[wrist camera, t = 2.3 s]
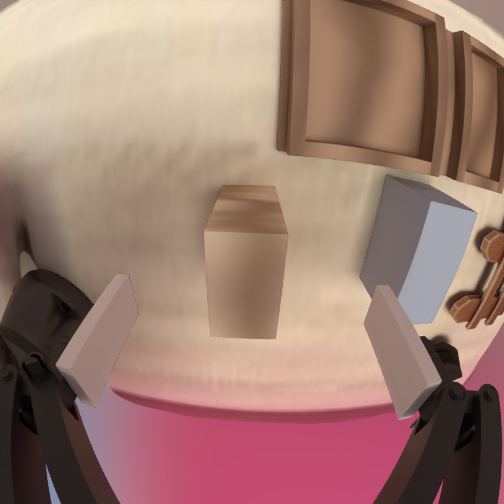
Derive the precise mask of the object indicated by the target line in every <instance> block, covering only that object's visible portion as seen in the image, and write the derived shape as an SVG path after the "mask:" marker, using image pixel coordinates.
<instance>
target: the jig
mask: <svg viewBox="0 0 504 504" xmlns="http://www.w3.org/2000/svg"><path fill="white" fill-rule="evenodd" d="M277 150H278V151H286V152H287V154H288V155H293V156H306V157H317V158H327V159H336V160H344V161H352V162H359V163H366V164H373V165H379V166H385V167H391V168H397V169H402V170H407V171H412V172H417V173H422V174H427V175H431V176H436V177H439V174H440V175H444V176H447V177H449V178H452V179H454V180H456V181H459V182H463V183H467V184H470V185H474V186H478V187H481V188H484V189H488V190H491V191H494V192H497V193H500V194H502V192H503V187H504V58H503V57H501V56H500V55H499V54H497V53H496V52H494V51H493V50H492V49H490V48H489V47H487V46H486V45H484V44H483V43H481V42H480V41H478V40H477V39H475V38H474V37H472V36H471V35H469V34H467V33H466V32H464V31H458V32H454V33H452V32H450V31H448V30H446V29H445V21H444V17H442V16H440V15H438V14H436V13H434V12H432V11H430V10H428V9H426V8H423V7H421V6H419V5H417V4H414V3H412V2H410V1H407V0H283V20H282V54H281V80H280V103H279V124H278V143H277Z"/></svg>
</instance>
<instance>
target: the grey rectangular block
mask: <svg viewBox="0 0 504 504" xmlns="http://www.w3.org/2000/svg"><path fill="white" fill-rule="evenodd" d="M476 217H477V212H475V211H473V210H472V209H470V208H469V207H467V206H465V205H464V204H462V203H460V202H459V201H457V200H455V199H454V198H452V197H450V196H448V195H447V194H445V193H443V192H441V191H440V190H438V189H436V188H434V187H432V186H430V185H427V184H423V183H419V182H415V181H411V180H406V179H402V178H398V177H393V176H389V175H386V178H385V182H384V187H383V192H382V196H381V201H380V205H379V209H378V214H377V218H376V222H375V226H374V229H373V233H372V237H371V241H370V244H369V248H368V251H367V255H366V258H365V261H364V265H363V268H362V271H361V274H360V279H361V281H362V282H363V284H364V286H365V288H366V290H367V292H368V293H369V295H370V297H371V299H372V298H373V295H374V292H375V289H376V286H377V285H389V286H390V288H391V290H392V291H393V293H394V294H395V296H396V298H397V299H398V301H399V303H400V304H401V306H402V307H403V309H404V311H405V313H406V314H407V316H408V318H409V319H410V321H411V323H412V324H428V323H432V322H433V320H434V318H435V316H436V314H437V312H438V310H439V309H440V307H441V305H442V303H443V301H444V298H445V296H446V294H447V292H448V290H449V288H450V286H451V283H452V281H453V279H454V277H455V274H456V272H457V270H458V267H459V265H460V262H461V260H462V257H463V255H464V252H465V249H466V247H467V244H468V241H469V238H470V235H471V232H472V229H473V226H474V223H475V220H476Z"/></svg>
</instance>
